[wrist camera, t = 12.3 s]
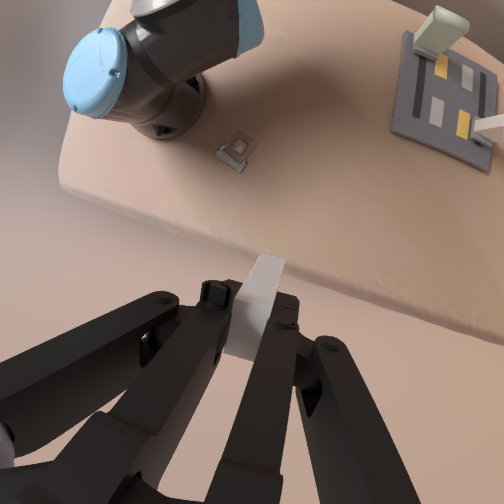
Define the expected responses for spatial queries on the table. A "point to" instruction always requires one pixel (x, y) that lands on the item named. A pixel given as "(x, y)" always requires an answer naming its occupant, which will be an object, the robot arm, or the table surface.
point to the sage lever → (439, 33)
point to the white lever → (488, 130)
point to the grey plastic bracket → (239, 148)
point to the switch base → (443, 102)
